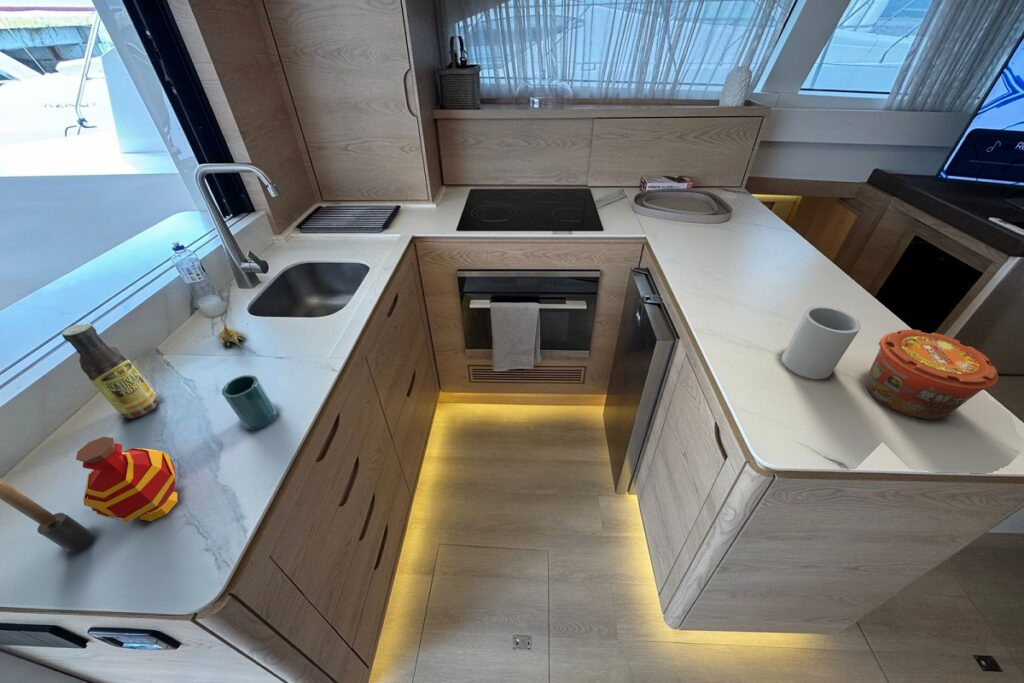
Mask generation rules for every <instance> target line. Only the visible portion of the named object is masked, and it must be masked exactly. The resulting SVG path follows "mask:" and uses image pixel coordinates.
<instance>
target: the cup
mask: <svg viewBox="0 0 1024 683" xmlns="http://www.w3.org/2000/svg"><path fill="white" fill-rule="evenodd" d="M861 328H862V324H861V323H860V321H859V319H857V318H856V317H855V316H854V315H852V314H850V313H849V312H846V311H844V310H841V309H838V308H834V307H830V306H824V305H816V306H810V307H808V308H806V310H805V311H804V313H803V314H802V317H801V319H800V321H799V322H798V325H797V327H796V329H795V331H794V332H793V334H792V336H791V338H790V340H789V342H788V343H787V346H786V348H785V350H784V351H783V353H782V356H781V362H782V364H783V365H784V366H785V367H786V368H787V369H788V370H790V371H791V372H792V373H794V374H796V375H798V376H801V377H803V378H807V379H812V380H824V379H828V378H829V377H831V375H832V373H833V372H834V370H835V369H836V367H837V365H838V364H839V363H840V362H841V360H842V358H843V356H844V355H845V353H846V352H847V350H848V348H849V347H850V345H852V343H853V341H854V340H855V337H856V336H857V335H858V334H859V332H860V330H861Z"/></svg>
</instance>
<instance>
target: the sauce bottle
mask: <svg viewBox="0 0 1024 683" xmlns="http://www.w3.org/2000/svg"><path fill="white" fill-rule="evenodd" d="M61 336H62V338H63V339H64V340H65V341H66V342H68V343H70V344H71V346H72V347H73V348H74V349H75V351H76V353H77V354H78V355H79V359H78V362H79V365H80V368H81V370H82V372H83V373H85V374H86V376H87V378H88V379H89V381H90V382H91V383H92V384H93V386H95V388H97V390H98V391H99V392H100V393H101V394H102V396H103V397H104V398H105V399H106V401H108V402H109V404H110V405H111V407H113V408H114V409H115V410H116V412H117V413H119V414H120V415H121V416H122V417H124V418H126V419H128V420H129V419H136V418H140V417H142V416H145V415H146V414H149V413H150V412H152V411H153V410H154V409H155V408H156V406H157V405H158V404H159V400H158V397H157V396H156V393H155V392H154V391H153V389H152V388H151V387H150V385H149V384H148V383H147V382H146V380H145V379H144V377H143V376H142V375H141V374H140V372H139V371H138V370H137V368H136V367H135V366H134V365H133V363H132V362H131V361H130V360H129V359H128V357H126V356H125V354H124V353H123V352H122V351H121V350H120V349H119V348H117V347H116V346H113V345H111V344H107V343H106V342H105V340H104V339H102V337H101V336H100V335H99V333H98V332H97V329H96V328H95V326H93V324H92V323H90V322H82V323H78V324H74V325H72V326H69V327H67V328H66V329H64V330H63V331H62V332H61Z"/></svg>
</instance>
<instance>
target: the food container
mask: <svg viewBox="0 0 1024 683" xmlns="http://www.w3.org/2000/svg"><path fill="white" fill-rule="evenodd" d="M878 345H879V349H878V352H877V354H876V356H875V358H874V360H873V362H872V364H871V367H870V369H869V370H868V373H867V375H866V377H865V379H864V385H865V388H866V390H867V391H868V393H869V394H870V396H871V397H873V398H874V399H875V400H876V401H878V402H879V403H881V404H883V405H884V406H886V407H887V408H889V409H891V410H893V411H895V412H897V413H900V414H903V415H906V416H909V417H912V418H916V419H920V420H941V419H944V418H947V417H948V416H949V415H951V413H953V412H954V411H956V410H957V409H959V408H960V407H962V405H964V404H966V403H967V401H969V400H971V399H972V398H974V397H975V396H976V395H978V394H979V393H980V392H981V391H984V390H988V389H991V388H993V387H994V386H995V385H997V383H998V380H999V374H998V370H997V369H996V367H995V366H994V365H993V364H992V363H991V362H990V361H991V359H989V358H988V357H987V356H986V355H985V354H984V353H982V352H981V351H979V350H978V349H976V348H974V347H973V346H965V345H964V344H961V341H960V340H958V339H955V338H953V337H950V336H947V335H944V334H940V333H936V332H932V333H927V332H922V330H920V329H900V330H898V331H891V332H889V333H886V334H884V335H883V336H882V337H881V339H880V340H879V342H878Z"/></svg>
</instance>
